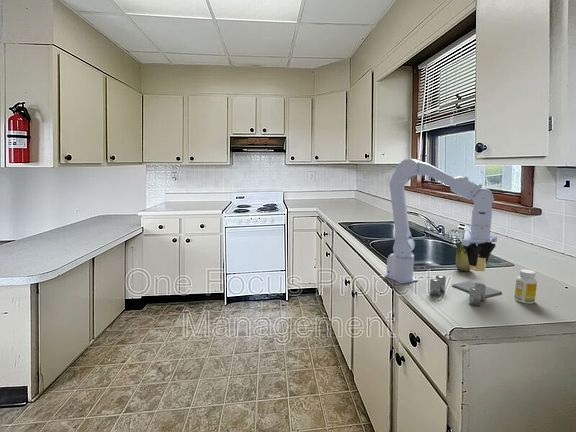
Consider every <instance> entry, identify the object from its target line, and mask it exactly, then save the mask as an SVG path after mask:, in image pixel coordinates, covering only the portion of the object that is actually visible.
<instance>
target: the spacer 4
mask: <svg viewBox="0 0 576 432" xmlns="http://www.w3.org/2000/svg"><path fill="white" fill-rule="evenodd" d="M475 283H476V284H475V287H476V288H480V289H481V299H480V303H484V302H485V298H486V297H485V288H486V287H487V286H486V284H483V283H480V282H479V283H477V282H475Z"/></svg>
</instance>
